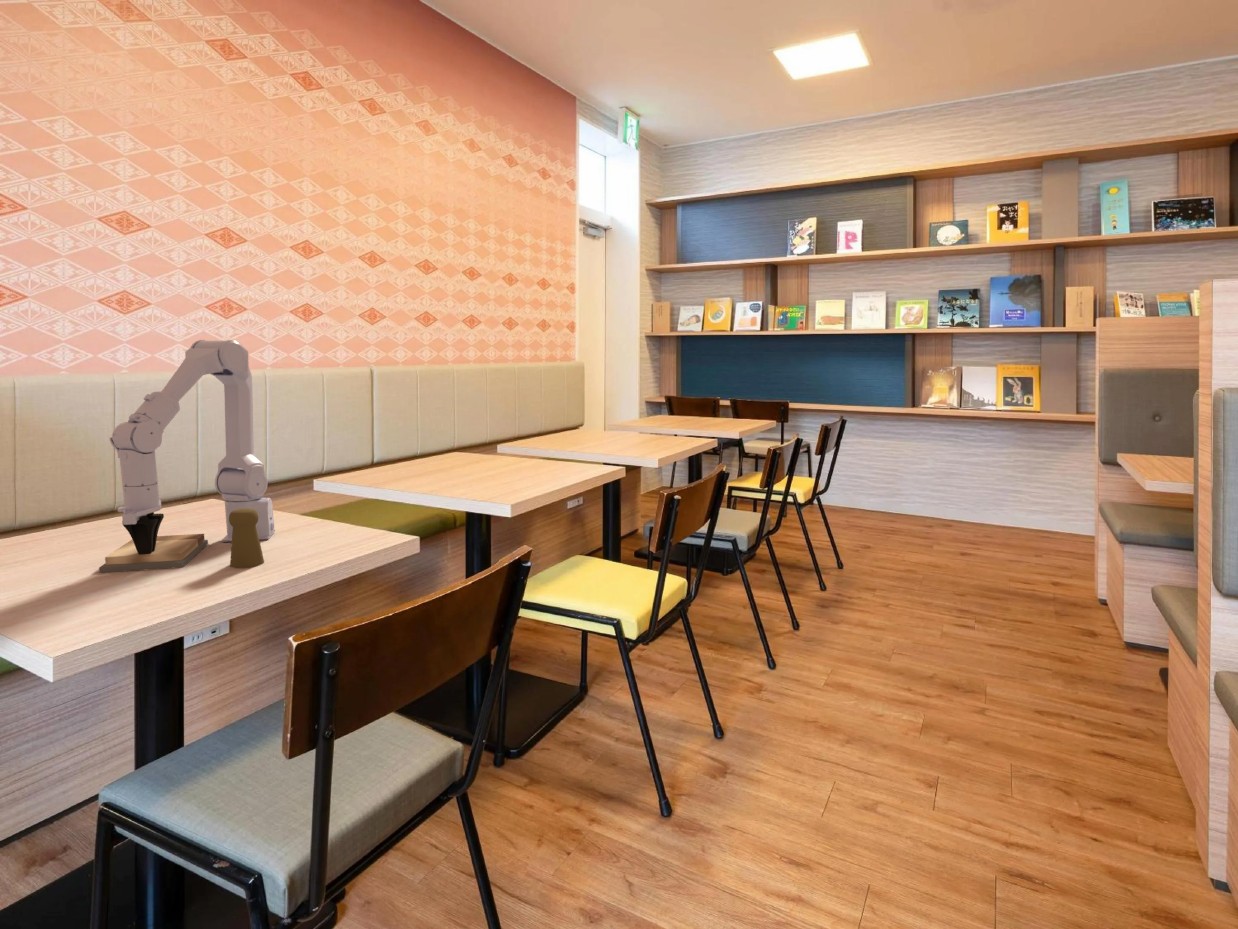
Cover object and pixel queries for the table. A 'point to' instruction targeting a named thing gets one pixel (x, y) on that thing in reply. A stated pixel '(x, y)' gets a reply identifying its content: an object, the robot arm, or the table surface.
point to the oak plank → (162, 552)
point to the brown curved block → (180, 537)
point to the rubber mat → (153, 564)
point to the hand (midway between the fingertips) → (146, 552)
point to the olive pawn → (245, 539)
